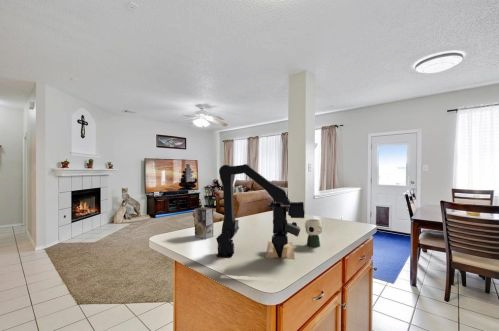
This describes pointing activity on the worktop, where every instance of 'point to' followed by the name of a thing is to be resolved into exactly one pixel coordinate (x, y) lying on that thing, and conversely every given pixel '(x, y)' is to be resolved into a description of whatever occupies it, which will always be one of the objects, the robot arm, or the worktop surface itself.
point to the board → (270, 255)
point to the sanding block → (284, 253)
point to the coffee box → (204, 222)
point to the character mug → (313, 232)
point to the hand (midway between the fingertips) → (280, 254)
